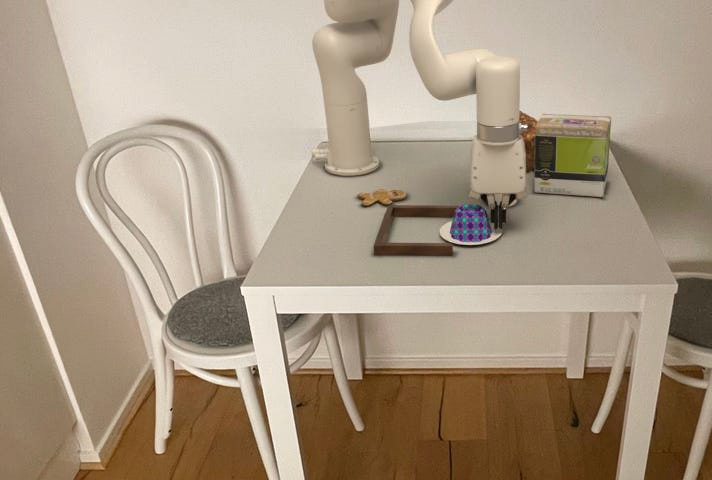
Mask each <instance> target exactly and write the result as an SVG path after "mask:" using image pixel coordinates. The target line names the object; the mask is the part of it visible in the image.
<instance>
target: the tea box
mask: <svg viewBox="0 0 712 480" xmlns="http://www.w3.org/2000/svg"><path fill="white" fill-rule="evenodd" d="M537 121H538V123H537V125H536V126H535V161H534V169H533V192H534V193H537V194H538V193H539V194H550V195H551V194H555V195H568V196H579V197H580V196H581V197H582V196H583V197H595V198H596V197H597V198H604V196H605V190H606V186H607V182H608V174H609V173H608V171H609V161H610V160H609V159H610V146H611V145H610V144H611V130H612V129H611V128H612V116H607V115H585V114H584V115H581V114H557V113H542V114H541V116H540V118H539V119H538V120H537Z"/></svg>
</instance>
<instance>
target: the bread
mask: <svg viewBox="0 0 712 480" xmlns="http://www.w3.org/2000/svg"><path fill="white" fill-rule="evenodd" d="M538 121H539V120H537V119H536V118H535V117H533V116H531V115H529V114H527V113H525V112H523V111H521V110H519V122H521V123H523V124H527V132H523V133H521V134H519V135H521V136H523V139H524V145H525V155H526V173H527V172H531V171H532V170H534V161H535V126H536V125H537V123H538Z"/></svg>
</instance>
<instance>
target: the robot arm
mask: <svg viewBox="0 0 712 480" xmlns="http://www.w3.org/2000/svg"><path fill="white" fill-rule="evenodd" d="M410 1H411V4H412V6H413V13H412V17H411V19H410V24H409V33H408V34H409V40H408V41H409V52H410V57H411V59H412V62H413V65H414V67H415V69H416V71H417V74H418V76H419V78H420V80H421V82H422V84H423V85H424V87H425V89H426V90H427V92H428V93H429V94H430V95H431V96H432V97H433V98H434V99H436V100H439V101H442V102H443V101H451V100H456V99H460V98H463V97H468V96H473V95H476V135H474V136H473V138H472V141H471V150H470V176H469V177H470V178H469V179H470V190H469V197H470V198H472V199H476V200H481V201H482V202H483V203H484V204H485V205H486V206H488V208H489V210H490V212H489V213H490V214H489V215H490V221H491V223H494V229H497V228H498V225H499V228H500V229H502V230H503V224H507V209H508V208H509V207H508V206H509V205H510V204H511V203H512V202H513V201H514V200H515V199H517V200H520V199H524V198H527V197H528V190H527V186H526V185H527V172H526V155H525V145H524V139H523V136H521V135H519V134H521V133H523V132H527V124H523V123H521V122H519V111H520V106H521V105H520V101H521V100H520V97H521V96H520V94H521V93H520V92H521V85H520V84H521V68H520V64H519V62H518V60H517V59H515V58H512V57H509V56H501V55H497V54H496V53H494V52H493V51H491V50H489V49H486V48H480V47H479V48H471V49H468V50H461V51H456V52H451V53H446V54H443V53H442V50H441V48H440V46H439V44H438V41H437V39H436V35H435V30H434V21H435V20H434V19H435V17H436V16H437V15H438V14H440V13H441V12H442V11H444V10H445V9H447V7H449V6H450V5H451V4H452V2H454V0H410ZM323 5H324V10H325V13H326V15H327V17H328V18H330V19H331V20H332V21H334V22H333V23H328V24H326V25H323V26H321V27H319V28H318V29H317V30H316V31H315V33H314V34H313V37H312V42H311V43H312V44H311V45H312V51H313V55H314V58H315V59H314V60H315V62H316V66H317V68H318V69H317V70H318V73H319V77H320V83H321V90H322V96H323V104H324V113H325V124H326V130H327V138H328V139H327V140H328V147H325V148H312V149H311V156H312V158H314V159H315V161H317V160H318V161H322V160H324V161H325V162H324V168H325V171H326V172H328V173H330V174H332V175H335V176H343V177H354V176H355V177H356V176H361V175H365V174H369V173H372V172H374V171H376V170H377V169H379V167H380V159H379V158H378V157H377V156H376V155H373V152H372V140H371V129H370V117H369V104H368V97H367V96H368V95H367V88H366V86H365V84H364V82H363V81H362V79H361V78H360V77H359V75H358V74H357V73H356V69H359V68H361V67H366V66H371V65H376V64H381V63H382V62H384V61H386V60H387V59H388V58H389V57H390V54H391V53H392V49H393V44H394V37H395V32H396V25H397V20H398V14H399V8H400V0H323ZM494 194H503V195H502V201H501V202H500V205H499V207H498V205H497V202H496V201H495V195H494Z"/></svg>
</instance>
